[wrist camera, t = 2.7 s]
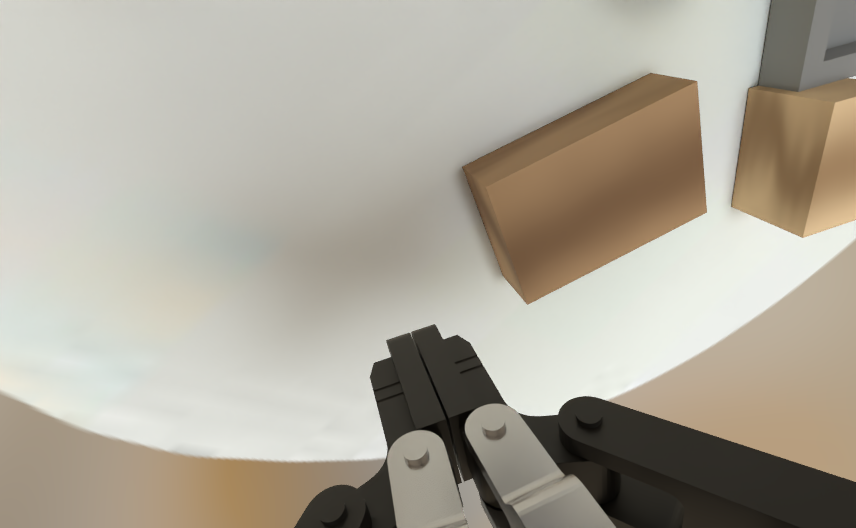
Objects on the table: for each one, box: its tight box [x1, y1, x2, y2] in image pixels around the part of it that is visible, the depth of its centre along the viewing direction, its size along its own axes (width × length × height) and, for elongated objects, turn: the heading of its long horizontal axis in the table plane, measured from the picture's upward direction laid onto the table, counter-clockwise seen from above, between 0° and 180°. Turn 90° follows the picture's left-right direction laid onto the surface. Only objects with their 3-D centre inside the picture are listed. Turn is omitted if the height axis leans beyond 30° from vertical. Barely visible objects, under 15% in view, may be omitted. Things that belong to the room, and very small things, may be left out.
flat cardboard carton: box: [462, 73, 707, 305], centre depth 21 cm, size 6×9×3 cm, turn 112°
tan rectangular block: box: [731, 78, 856, 238], centre depth 22 cm, size 6×3×4 cm, turn 11°
